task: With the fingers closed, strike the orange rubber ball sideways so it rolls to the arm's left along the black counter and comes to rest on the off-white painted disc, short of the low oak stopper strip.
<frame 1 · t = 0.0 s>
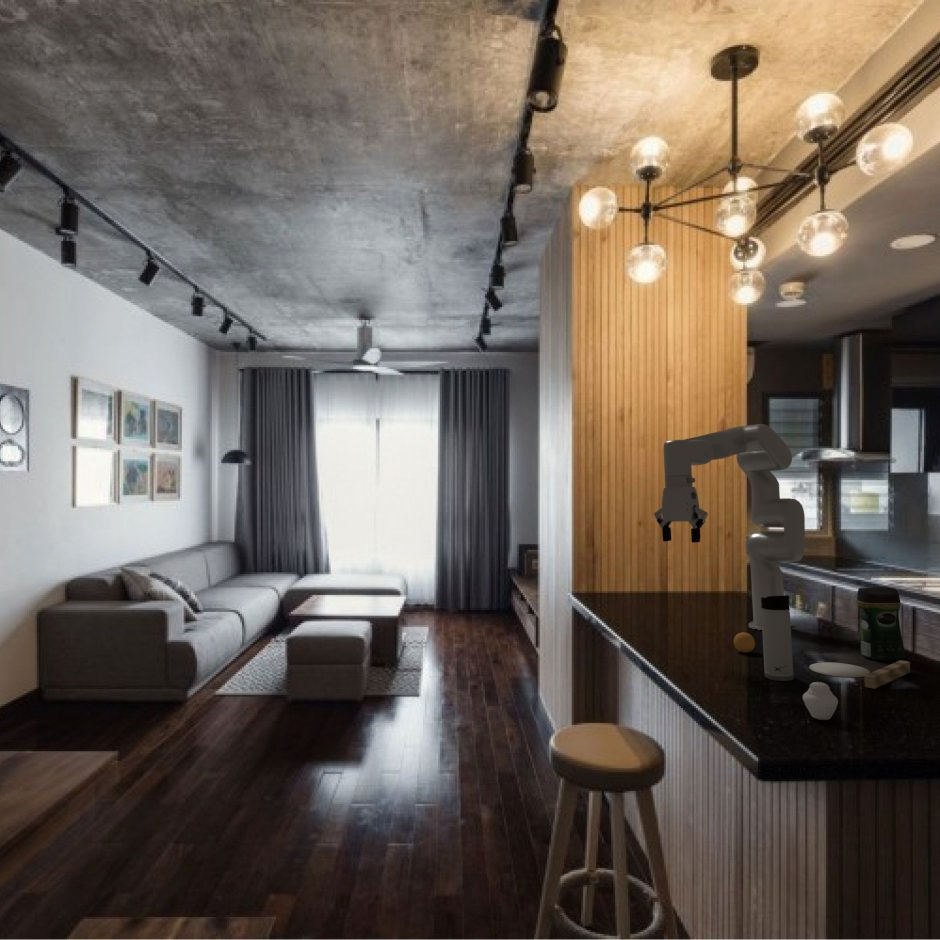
hand: (681, 541, 183), 31 cm above the countertop, tool pointing down, fingers open, 9 cm apart
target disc: (838, 670, 158), on the countertop
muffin: (821, 718, 126), on the countertop
travel mug: (779, 678, 153), on the countertop
ball: (744, 642, 178), on the countertop
coffee jar: (882, 658, 168), on the countertop
stopper strip: (888, 679, 149), on the countertop
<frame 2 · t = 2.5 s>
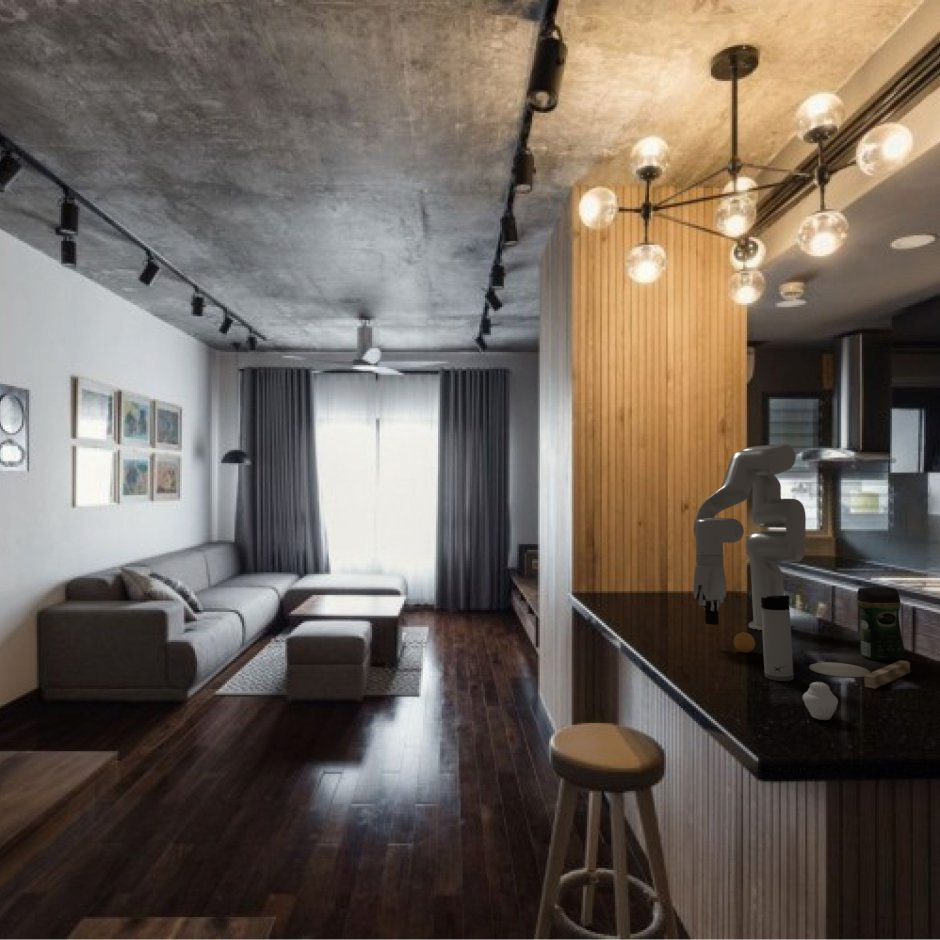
hand: (711, 624, 186), 7 cm above the countertop, tool pointing down, fingers closed
nothing on the countertop moved.
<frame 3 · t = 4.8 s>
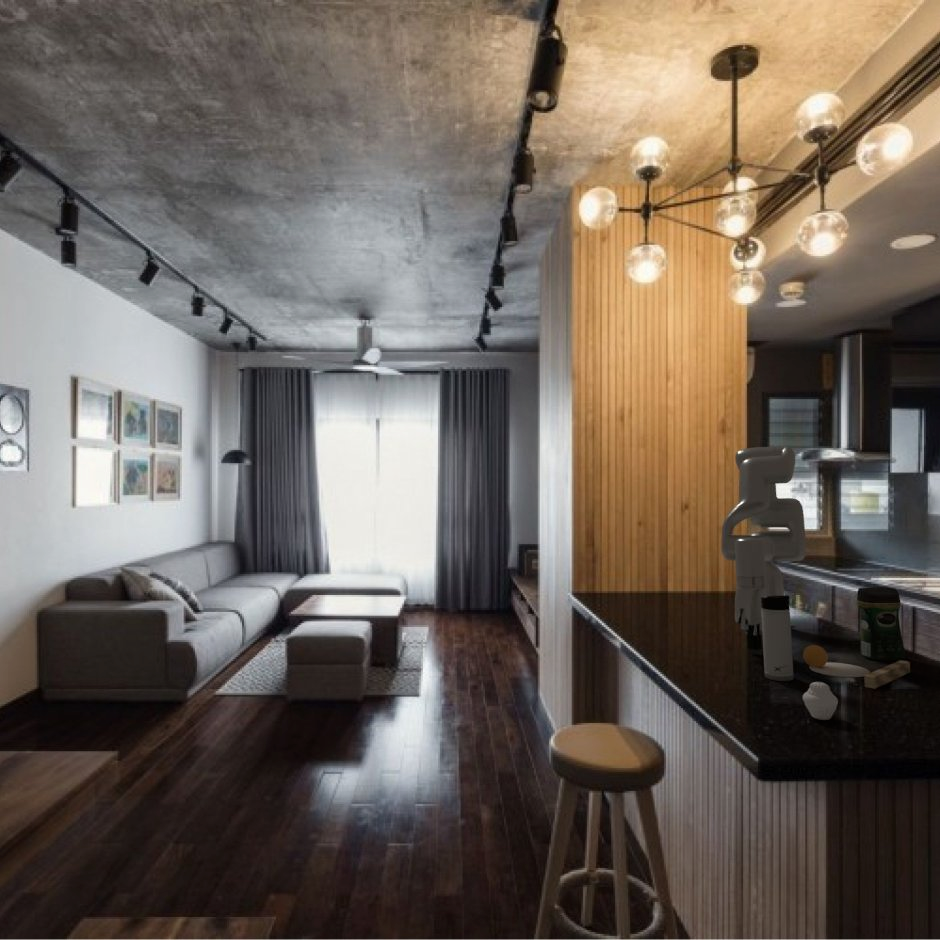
hand: (754, 648, 176), 2 cm above the countertop, tool pointing down, fingers closed
ball: (815, 656, 161), on the countertop
everything else where it was.
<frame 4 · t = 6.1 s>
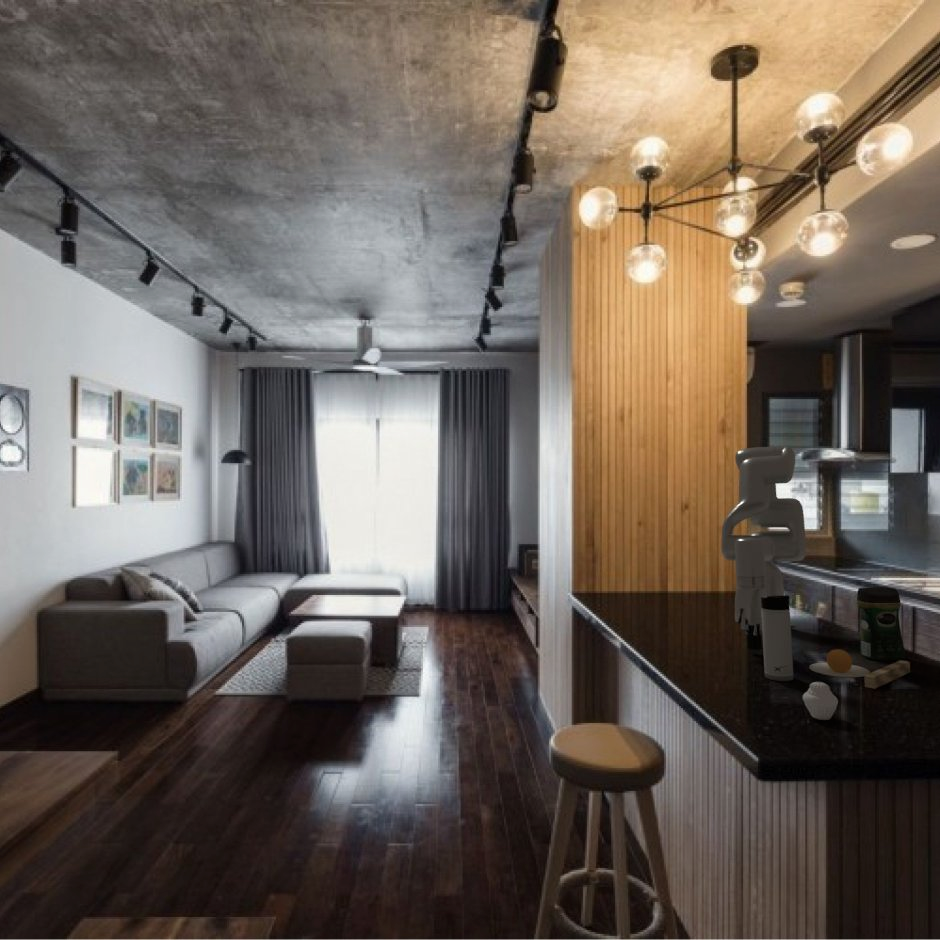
hand: (754, 648, 176), 2 cm above the countertop, tool pointing down, fingers closed
ball: (839, 660, 156), on the countertop
everything else where it was.
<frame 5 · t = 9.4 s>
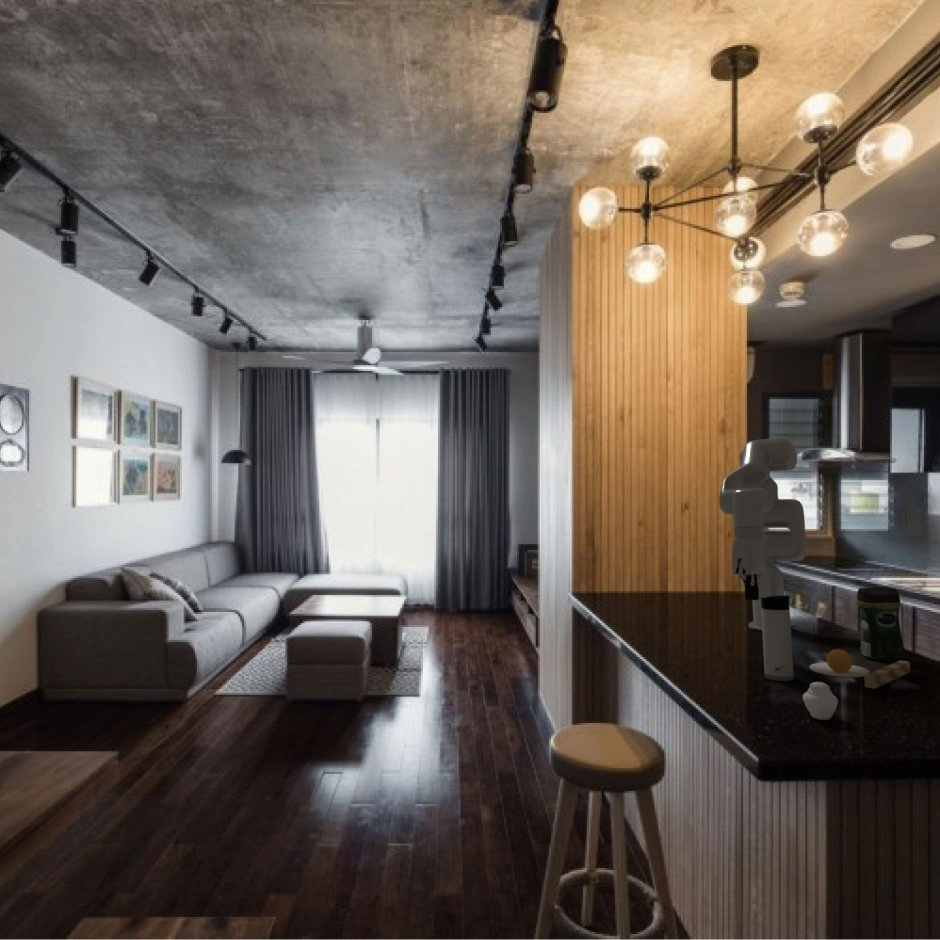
hand: (752, 599, 176), 15 cm above the countertop, tool pointing down, fingers closed
nothing on the countertop moved.
at the end: ball 2.1 cm from the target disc (horizontally); ball at rest at the end (0.0 cm/s); ball moved 26.1 cm from its start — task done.
